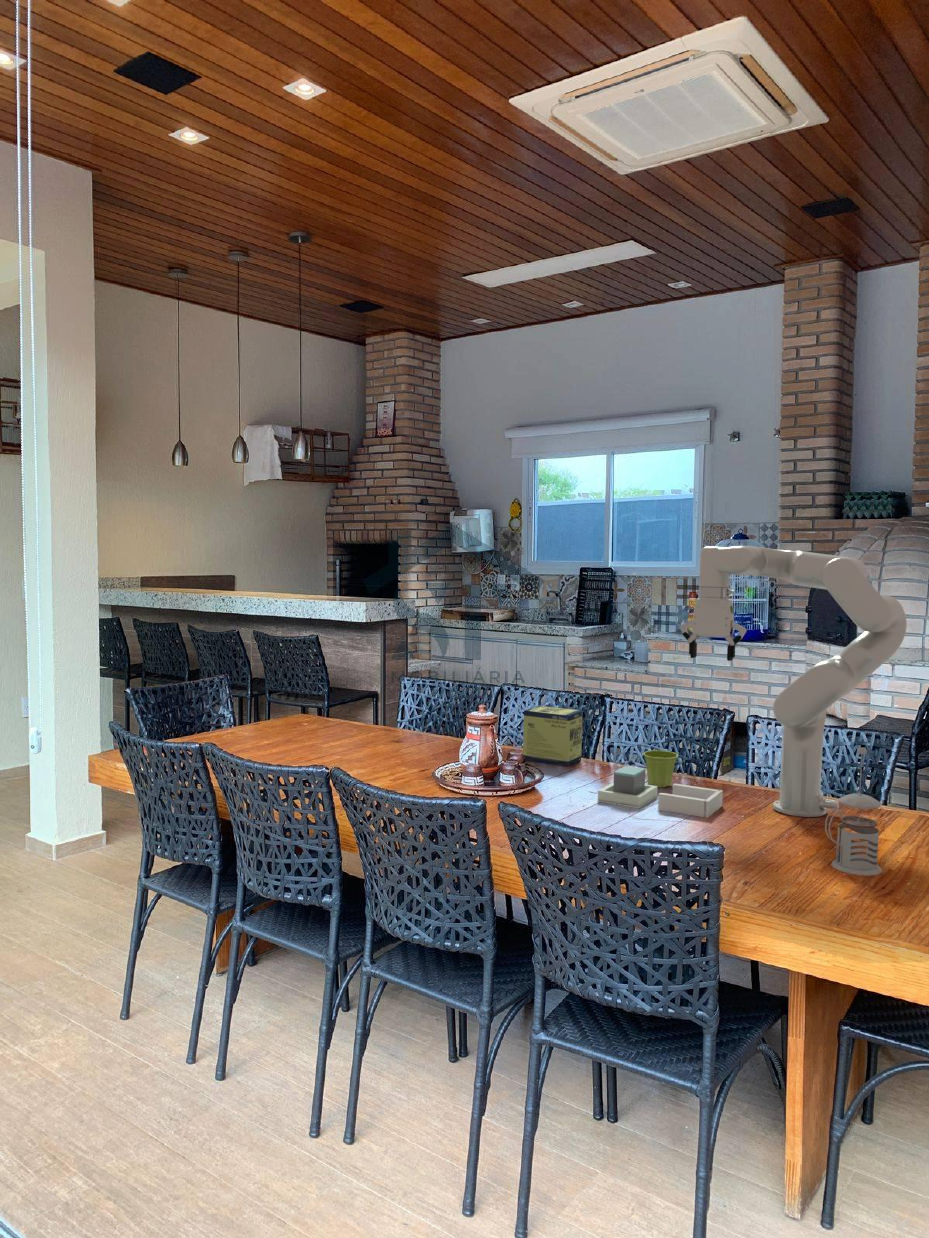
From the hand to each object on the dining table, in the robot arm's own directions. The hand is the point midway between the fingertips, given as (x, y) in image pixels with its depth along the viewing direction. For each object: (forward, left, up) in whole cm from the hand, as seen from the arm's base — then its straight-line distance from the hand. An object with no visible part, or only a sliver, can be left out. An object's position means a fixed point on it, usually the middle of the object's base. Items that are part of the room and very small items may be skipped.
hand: (711, 658), depth 245 cm
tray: (+16, +16, -36) cm, 43 cm away
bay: (0, +15, -36) cm, 39 cm away
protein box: (+52, -14, -37) cm, 65 cm away
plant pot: (+14, -3, -36) cm, 39 cm away
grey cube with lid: (+16, +16, -36) cm, 42 cm away
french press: (-42, +40, -36) cm, 69 cm away
